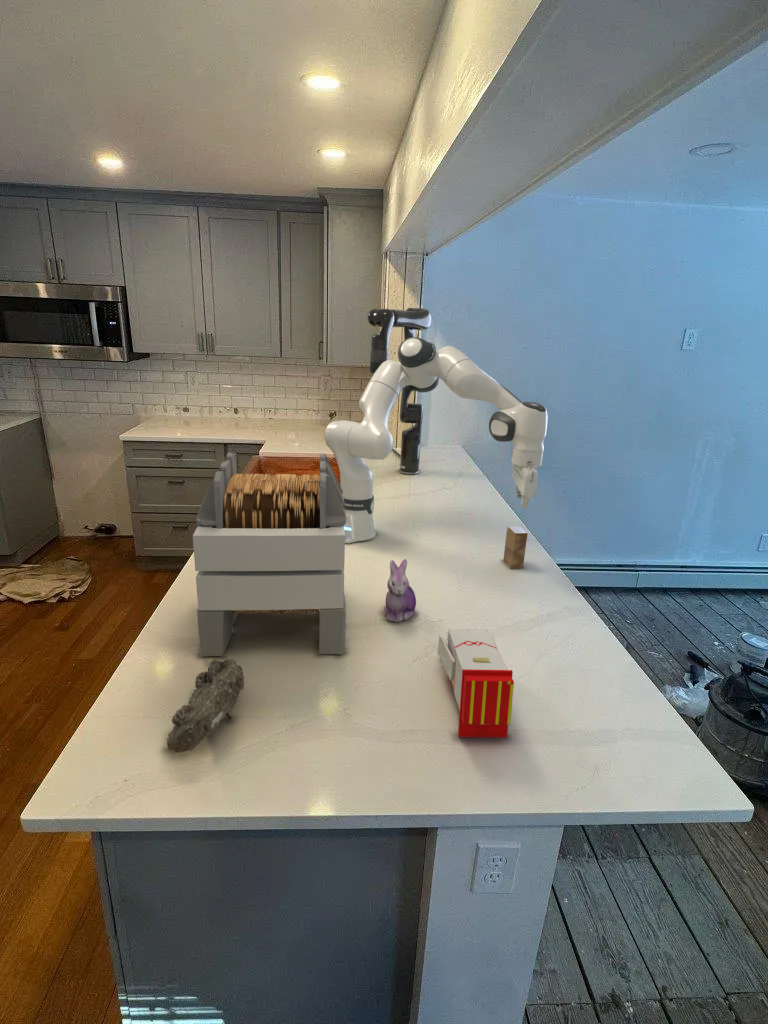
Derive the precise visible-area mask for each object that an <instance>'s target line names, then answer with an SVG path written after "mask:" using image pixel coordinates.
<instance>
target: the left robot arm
mask: <svg viewBox="0 0 768 1024" xmlns="http://www.w3.org/2000/svg"><path fill="white" fill-rule="evenodd" d="M436 348H437V347H436V344H434V343H433V342H430V341H427V340H425V339H424V338H421V337H418V336H415V337H410V338H407V339H405V340H404V339H403V341H401V343H399V346H398V348H397V358H398V361H397V360H393V359H389V360H387V361H385V362H383V363H382V364H381V365H380V366H379V368H378V369H377V370H376V372H375V373H373V375H372V376H371V377H370V379H369V382H368V383H367V385H366V387H365V388H364V391H363V393H362V395H361V397H360V398H359V400H358V401H359V402H358V405H359V409H360V412H361V413H362V414H363V419H362V420H361V422H356V421H351V420H347V419H344V420H343V419H342V420H332V421H331V422H329V423H328V425H327V426H326V428H325V430H324V437H323V438H324V442H325V444H326V446H327V447H328V448H329V449H330V451H331V452H332V454H333V456H334V458H335V461H336V464H337V466H338V470H339V481H340V482H339V484H340V486H341V489H342V491H343V496H344V503H345V511H346V523H345V524H344V530H345V544H352V543H357V542H365V541H368V540H372V539H373V538H375V537H376V535H377V532H376V528H375V523H374V513H373V512H374V509H375V496H374V473H373V471H372V470H371V469H370V468H369V467H368V465H367V464H366V462H365V460H364V459H366V460H370V461H380V460H382V461H383V460H385V459H387V458H388V457H389V456H390V454H391V453H392V452H393V450H392V449H394V438H393V435H392V433H391V431H390V430H389V418H390V416H391V414H392V412H393V408H394V407H395V404H396V403H397V400H398V399H399V396H400V394H401V393H402V389H403V388H404V387H406V388H407V389H408V390H410V391H412V392H418V393H429V392H432V391H433V390H435V389H436V388H437V387H438V385H439V383H440V380H441V381H442V382H444V384H445V385H446V387H448V389H449V390H450V391H452V393H454V394H455V395H457V396H458V397H460V398H462V399H467V400H474V401H475V400H476V401H481V402H487V403H490V404H492V405H494V406H495V407H496V408H498V409H499V411H495V412H494V413H493V414H492V415H491V416H490V418H489V422H488V429H489V430H488V432H489V435H490V436H491V438H493V440H495V441H496V442H501V443H508V442H509V443H512V444H513V446H512V450H511V461H510V462H511V464H512V473H511V474H512V480H513V481H514V483H515V498H517V499H521V501H520V507H521V508H522V509H527V508H528V506H529V502H530V501H531V498H535V497H536V494H537V487H538V471H537V470H538V468H540V467H542V464H543V458H544V450H545V447H544V442H545V438H546V437H547V431H548V430H547V429H548V411H547V410H548V409H547V407H545V405H544V404H542V403H538V402H536V401H531V400H530V401H528V400H527V401H522V400H521V399H520V398H518V397H517V396H516V395H515V394H513V393H512V392H511V391H510V390H509V389H508V388H506V387H505V386H504V385H503V384H501V383H500V382H499V381H497V380H496V379H495V378H493V377H491V376H490V375H488V374H487V372H485V371H484V370H482V369H481V368H480V367H479V366H478V365H477V364H476V363H475V362H474V361H473V360H472V359H471V358H470V357H468V355H466V354H465V353H464V352H462V351H461V350H460V349H458V348H457V347H455V346H453V345H447V346H443V347H442V348H439V349H436ZM408 387H409V388H410V389H409V388H408Z"/></svg>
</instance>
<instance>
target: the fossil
mask: <svg viewBox="0 0 768 1024" xmlns="http://www.w3.org/2000/svg"><path fill="white" fill-rule="evenodd" d="M243 670H244V669H243V667H242V665H240V664H237V662H236V661H235V660H234V659H232V658H231V659H227V658H226V659H224V660H223V661H222V660H217V659H212V660H211V661H210V663H209V665H208V666H207V671H201V672H199V673H198V674H197V675H196V676H195V680H194V684H195V685H194V687H195V689H194V690H193V693H192V694H191V697H190V698H189V700H188V704H184V705H182V706H181V707H180V709H177V710H176V711H175V713H174V715H173V716H172V718H171V723H172V724H173V727H172V730H171V731H170V732H168V734H167V738H166V741H167V742H166V745H167V749H168V750H169V751H173V752H174V753H176V754H178V753H182V752H188V751H189V752H192V751H193V750H195V748H196V747H197V746H199V744H200V743H201V742H203V741H204V740H205V739H206V738H207V737H208V736H209V735H210V734H211V733H212V732H214V730H215V729H217V727H218V726H219V724H220V722H221V721H222V720H223V719H224V718H225V716H226V717H227V719H229V720H233V717H232V715H230V714H229V710H230V709H231V708H234V706H235V704H236V703H237V702H238V699H239V697H240V695H241V693H242V691H243V690H245V689H244V688H245V675H244V671H243Z"/></svg>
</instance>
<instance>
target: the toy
mask: <svg viewBox="0 0 768 1024" xmlns="http://www.w3.org/2000/svg"><path fill="white" fill-rule="evenodd" d="M446 640H447V643H446V641H445V639H444V636H443V635H442V634H439V637H438V646H437V656H438V657H439V659H440V661H441V663H442V666H443V668H444V670H445V672H446V674H447V677H448V679H449V681H450V684H451V687H452V690H453V693H454V697H455V701H456V705H457V708H458V711H459V714H458V715H459V716H458V730H457V731H458V732H457V737H458V738H508V731H509V726H510V725H511V717H512V707H513V697H514V696H513V695H514V684H515V680H514V679H513V673H514V671H513V670H512V669H508V667H507V665H506V662H505V661H504V659H503V658H502V655H501V653H500V651H499V649H498V647H497V643H496V639H495V637H494V635H493V634H491V632H490V631H489V629H467V628H466V629H465V628H463V629H461V628H460V629H459V628H448V630H447V639H446Z"/></svg>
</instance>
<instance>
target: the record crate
mask: <svg viewBox="0 0 768 1024" xmlns="http://www.w3.org/2000/svg"><path fill="white" fill-rule="evenodd" d="M195 521H196V525H197V527H196V529H195V530H194V532H193V534H192V544H193V545H192V546H193V558H194V559H193V560H194V571H195V572H197V573H196V576H195V584H196V597H197V610H196V619H197V631H198V639H199V651H200V652H199V656H200V657H201V658H207V657H223V655H224V653H225V651H226V648H227V647H228V644H229V641H230V639H231V638H232V637H231V636H232V634H233V624H235V623H236V619H237V617H238V614H257V613H258V614H263V613H264V614H266V613H267V614H277V613H278V614H282V613H283V614H288V613H291V614H292V613H308V612H309V613H317V612H318V613H319V614H318V615H319V616H318V618H319V621H318V622H319V626H318V627H319V628H318V629H319V630H318V632H319V634H318V636H319V637H318V638H319V639H318V640H319V646H318V649H319V652H318V653H319V655H341V656H342V654H344V653H346V626H347V625H346V623H347V621H346V619H347V617H346V616H347V608H346V596H345V559H346V558H345V556H346V555H345V554H346V553H345V552H346V543H345V530H344V524H345V523H346V511H345V503H344V496H343V491H342V489H341V486H340V482H339V480H338V477H337V475H336V474H335V472H334V469H333V467H332V465H331V463H330V461H329V459H328V456H327V455H326V453H321V452H320V453H319V474H312V475H311V474H307V473H304V474H302V475H299V474H295V473H276V474H271V473H270V474H268V473H238V472H237V457H236V452H227V454H226V456H225V458H224V459H223V460H222V461H221V464H220V466H219V468H218V470H217V471H215V473H214V475H213V477H212V479H211V482H210V484H209V486H208V488H207V491H206V493H205V496H204V498H203V500H202V502H201V505H200V507H199V509H198V512H197V514H196V517H195Z"/></svg>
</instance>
